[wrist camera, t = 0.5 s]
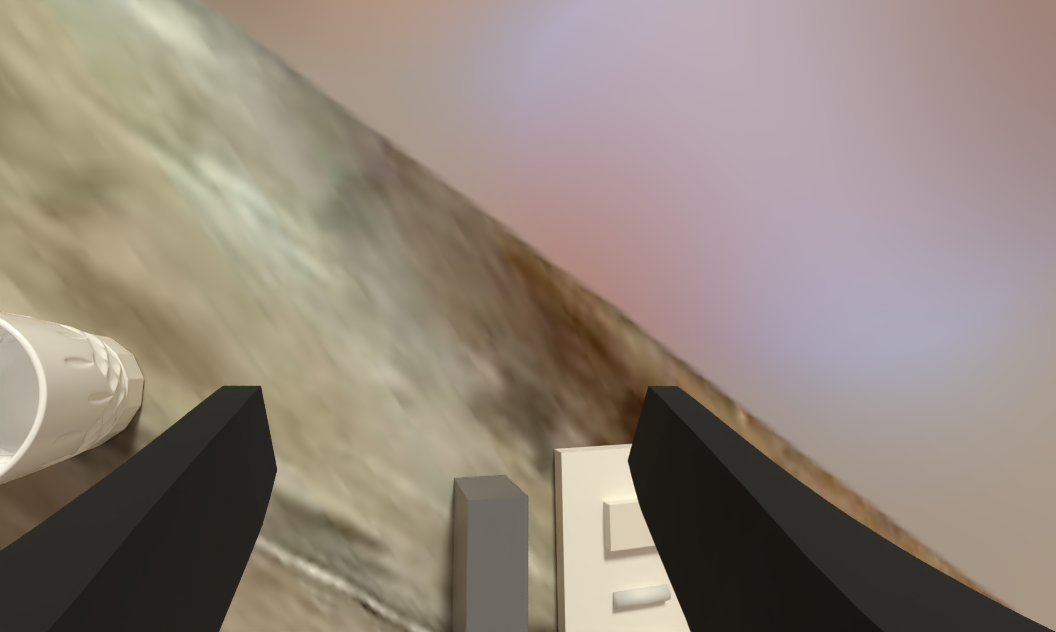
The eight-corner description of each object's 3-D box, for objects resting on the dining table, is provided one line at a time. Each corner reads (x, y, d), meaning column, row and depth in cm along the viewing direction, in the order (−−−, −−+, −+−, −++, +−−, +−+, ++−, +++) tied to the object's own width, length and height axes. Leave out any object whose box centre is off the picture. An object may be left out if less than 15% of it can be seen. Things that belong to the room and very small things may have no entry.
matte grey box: (503, 706, 33) (527, 777, 27) (450, 716, 32) (464, 792, 26) (504, 474, 35) (528, 496, 29) (454, 477, 34) (468, 500, 28)
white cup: (104, 485, 28) (-42, 546, 19) (-48, 424, 27) (-291, 458, 17) (185, 360, 30) (90, 358, 20) (47, 296, 28) (-126, 261, 19)
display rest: (701, 717, 37) (724, 741, 34) (560, 751, 34) (574, 781, 31) (688, 440, 38) (708, 445, 36) (554, 449, 35) (566, 454, 33)
